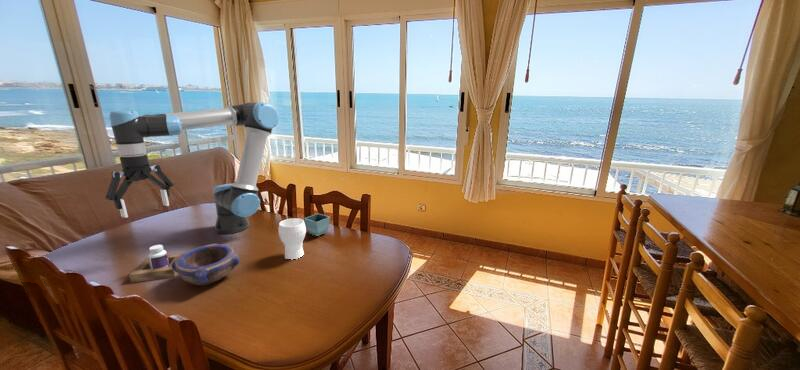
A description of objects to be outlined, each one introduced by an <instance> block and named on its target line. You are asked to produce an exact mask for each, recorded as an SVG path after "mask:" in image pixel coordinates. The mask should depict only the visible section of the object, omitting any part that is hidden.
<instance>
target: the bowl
mask: <svg viewBox="0 0 800 370" xmlns="http://www.w3.org/2000/svg"><path fill="white" fill-rule="evenodd" d="M184 253H185V254H183V255H182V256H180V257H179V258H177V259H176V260H175V261H174V262H173V263H172V268H173V269H174V270H175V271H176V272H178V273H177V275H179V277H180V278H181V280H183V281H185V282H186V283H188V284H191V285H196V286H207V285H209V284H210V285H211V284H213V283H215V282H219V281H221V280H222V278H225V277H226V276H227V275H229V273H230V272H231V271H232V270H234V268H236V267H237V266H238V265H239V264H240V262H241V260H240V258H241V257H240V255H238V254H237V253H235V251H234V249H233V248H232V247H230V246H228V245H226V244H220V243H212V244H206V245H202V246H198V247H195V248H193V249H190V250H188V251H186V252H184Z"/></svg>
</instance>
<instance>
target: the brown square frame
mask: <svg viewBox="0 0 800 370" xmlns="http://www.w3.org/2000/svg"><path fill="white" fill-rule="evenodd" d="M185 253H186V252H183V253H175V254H167V256H168V261H169V266H168V267H164V268H156V269H151V266H150V262H149V257H146V258H144V259H143V261H141V262H140V263H139V264H138V266H136V268H134V270H132V272H131V273H130V274H129V275H128V277H129V280H130V284H133V283H139V282H147V281H151V280H154V281H155V280H160V279H167V278H174V277H176V276H177V275H178V272H176V271H175V270H174V269H173V268H172V263H173V262H174V261H175V260H176V259H177V258H179V257H180V256H182V255H183V254H185Z"/></svg>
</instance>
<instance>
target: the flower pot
mask: <svg viewBox="0 0 800 370" xmlns="http://www.w3.org/2000/svg"><path fill="white" fill-rule="evenodd" d="M330 218H331V217H330V216H328V215H324V214H323V213H322V214H321V213H316V214H312V215H310V216H307V217H304V219H303V220H304V223H305V226H306V231H307V232H308V233H309V235H310V234H312V235H311V236H313V235H315V236H319V235H321V234H324V233H325V234H326V233H327V231H328V230H329V227H330V220H331V219H330ZM325 234H324V235H325ZM315 236H314V237H315ZM319 237H320V236H319Z"/></svg>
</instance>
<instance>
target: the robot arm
mask: <svg viewBox="0 0 800 370" xmlns="http://www.w3.org/2000/svg"><path fill="white" fill-rule="evenodd" d="M109 120H110V127H111V129H112V133H113V138H114V141H115V143H116V144H115V145H116V148H117V153H118V155H119V156H120V157H119V161H120V164H121V167H122V170H121V171H111V180H110V183H109V186H108V190H107V192H106V195H105V200H108V201H113V203H114V207H115V209H116V210H119V213H120V217H121V218H129V215H128V211H127V207H126V203H125V200H124V199H122V198H123V197H124V195H125V194H126V192H127V190H128V189H129V188H130V186H131V185H132V184H133V183H134V182H139V181H145V180H146V179H147V180H149V181H150V182H152V183H153V184H155V185H157V187H160V188H161V189H159V192H160V197H161V201H162V206H166V207H169V206H170V201H169V197H170V190H171V187H173V186H174V184H173V182H172V181H171V180H170V179H169V178H168V176H167V175H165V173H164V172H163V171H162V170H161V167H160V165H158V164H153V165H152V166H151V165H150V162H149V156H148V155H147V154H146V153H147V149H146V146H145V145H146V144H145V140H144V138H151V137H152V138H154V137H157V138H158V137H169V136H170V137H172V136H180V135H181V133H182V131H187V130H189V131H190V130H196V129H204V128H213V127H222V126H232V127H239V126H240V127H241V126H242V127H243V129H244V130H245V131H246V136H245V140H244V145H243V150H242V153H241V158H240V162H239V165H238V171H237V175H236V180H235V182H234V183H225V184H219V185H216V186H214V187H213V196H214V197H213V198H214V204H215V210H216V220H215V224H214V230H215V233H217V234H219V235H220V234H221V235H230V234H235V233H236V234H237V233H239V232H242V230H243V231H245V230H247V229H248V228H249V227H250V222H249V219H248V218H249V217H250V216H253V215H255V213H256V212H257V211H258V210H259V208H260V206H261V199H260V197H259V196H258V195H259V188H258V187H257V182H258V178H259V172H260V170H261V164H262V160H263V156H264V151H265V147H266V143H267V137H269V136H271V135H272V131H273V128H275V127H277V125H278V124H279V121H280V115H279V112H278V111H277V109H276V108H275V106H274V105H272V104H270V103H268V102H262V101H260V102H245V103H239V104H234V105H228V106H227V107H226V108H215V109H203V110H202V109H201V110H192V111H189V110H188V111H180V112H178V111H177V112H168V113H167V112H165V113H157V114H150V113H149V114H143V115H142V114H141V115H139V114H138V112H137V111H136V110H114V111H110V113H109ZM151 172H154V173H155V174H156V175H157V176H158V178H159V179H160V180H159V179H158V178H156V177H155V176H154V175H152V174H151ZM122 176H124V179H123V180H122V183H121V184H120V181H121V178H122ZM119 184H120V186H119ZM248 226H249V227H248ZM246 228H247V229H246Z"/></svg>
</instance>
